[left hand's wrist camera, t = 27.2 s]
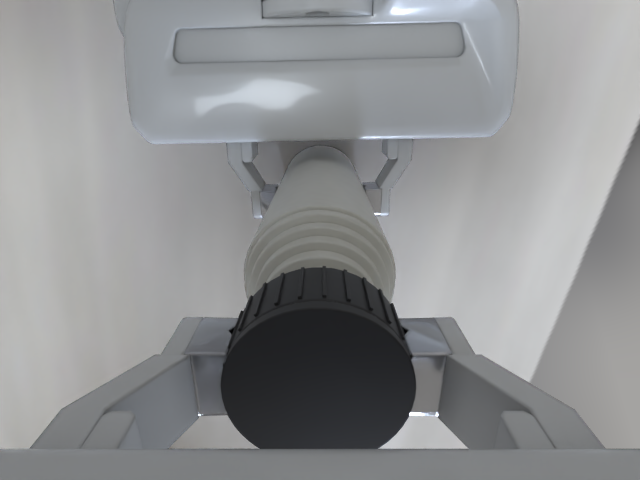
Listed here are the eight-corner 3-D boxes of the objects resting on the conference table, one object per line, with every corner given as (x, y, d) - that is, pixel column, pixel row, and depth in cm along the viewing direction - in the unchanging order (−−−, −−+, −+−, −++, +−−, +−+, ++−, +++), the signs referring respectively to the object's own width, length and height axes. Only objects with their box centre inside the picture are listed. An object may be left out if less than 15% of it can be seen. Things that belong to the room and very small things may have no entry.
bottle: (302, 226, 30) (266, 478, 10) (273, 162, 28) (160, 318, 8) (367, 199, 29) (461, 417, 9) (340, 133, 27) (387, 228, 8)
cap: (238, 399, 11) (221, 462, 9) (236, 258, 9) (213, 299, 7) (389, 407, 11) (404, 471, 9) (411, 268, 9) (434, 311, 8)
